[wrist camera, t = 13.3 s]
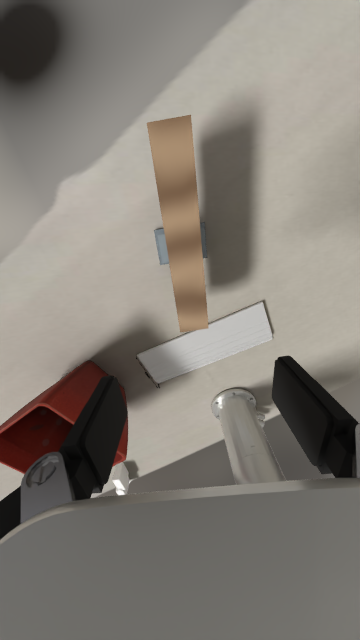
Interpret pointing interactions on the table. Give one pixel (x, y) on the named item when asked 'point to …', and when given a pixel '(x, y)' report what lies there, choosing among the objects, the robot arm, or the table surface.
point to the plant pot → (52, 420)
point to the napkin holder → (121, 479)
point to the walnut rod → (180, 216)
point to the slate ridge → (163, 247)
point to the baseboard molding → (208, 344)
